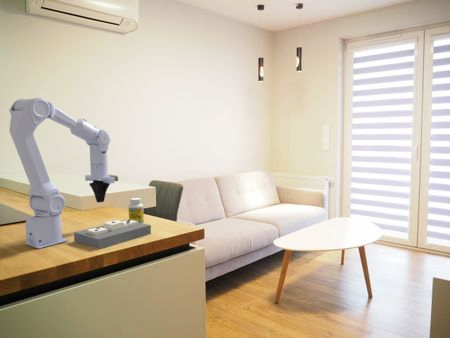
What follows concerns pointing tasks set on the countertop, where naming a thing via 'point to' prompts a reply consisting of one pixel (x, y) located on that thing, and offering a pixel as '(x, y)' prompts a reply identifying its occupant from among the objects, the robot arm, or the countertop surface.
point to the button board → (111, 236)
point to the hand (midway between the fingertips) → (100, 202)
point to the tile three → (129, 223)
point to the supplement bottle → (136, 210)
